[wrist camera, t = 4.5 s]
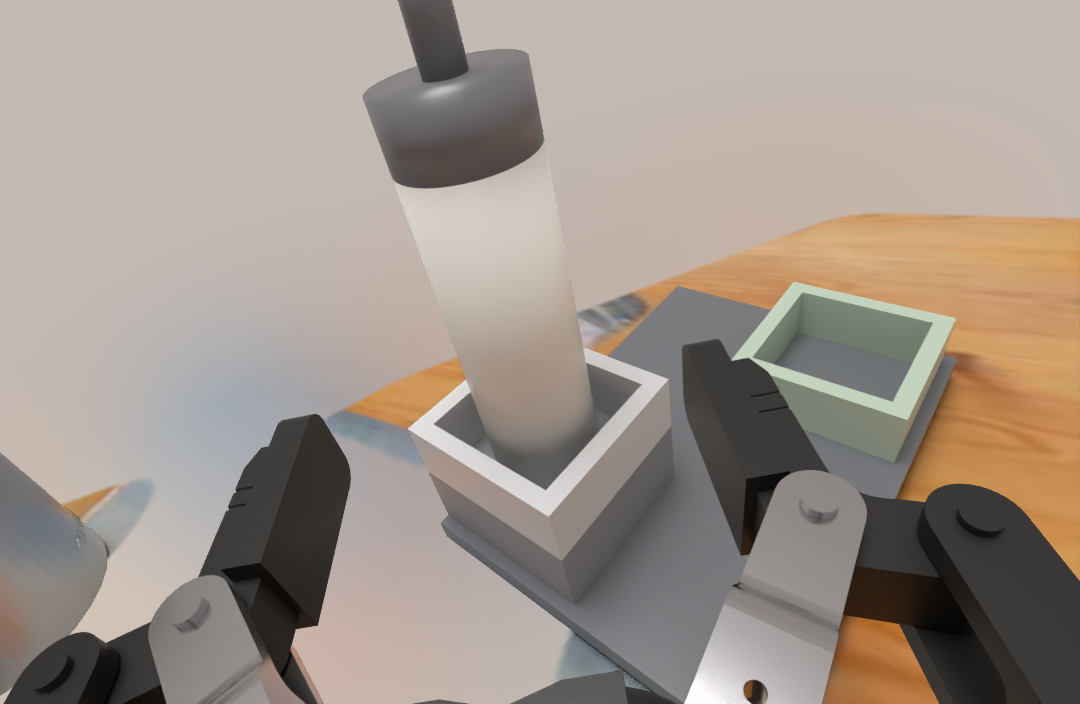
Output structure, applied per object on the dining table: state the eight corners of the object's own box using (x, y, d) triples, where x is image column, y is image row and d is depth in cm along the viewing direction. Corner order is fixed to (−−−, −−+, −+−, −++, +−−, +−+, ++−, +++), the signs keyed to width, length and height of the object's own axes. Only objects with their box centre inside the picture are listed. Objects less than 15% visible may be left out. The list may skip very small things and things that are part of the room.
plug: (555, 510, 20) (372, -114, 10) (475, 462, 23) (259, -76, 12) (621, 434, 23) (534, -146, 12) (542, 397, 25) (409, -108, 14)
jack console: (771, 780, 17) (791, 693, 13) (447, 536, 25) (397, 437, 21) (951, 374, 27) (994, 255, 23) (678, 299, 36) (674, 203, 31)
